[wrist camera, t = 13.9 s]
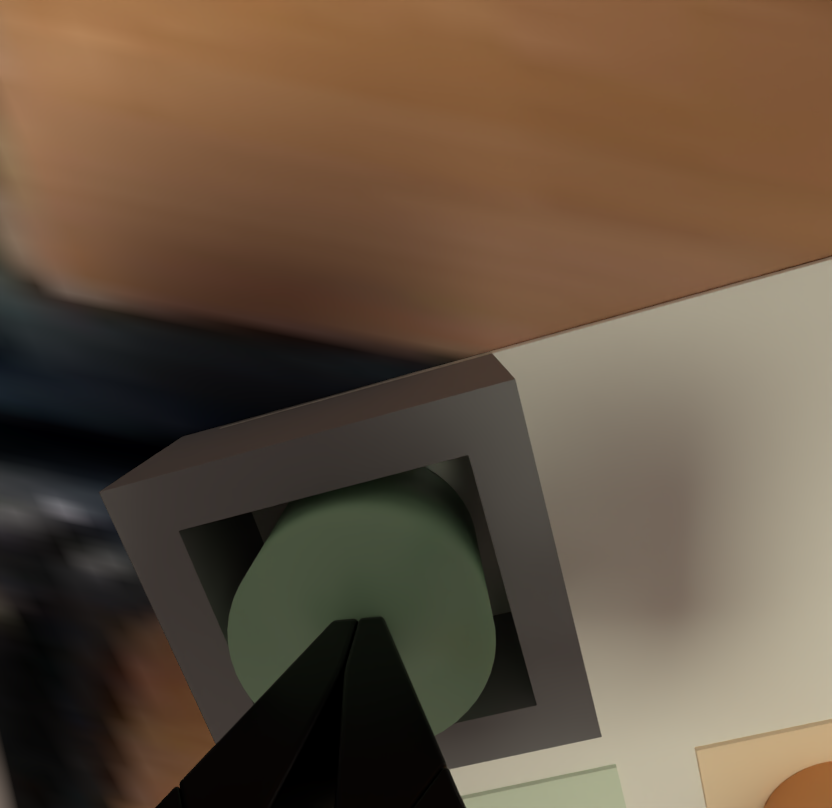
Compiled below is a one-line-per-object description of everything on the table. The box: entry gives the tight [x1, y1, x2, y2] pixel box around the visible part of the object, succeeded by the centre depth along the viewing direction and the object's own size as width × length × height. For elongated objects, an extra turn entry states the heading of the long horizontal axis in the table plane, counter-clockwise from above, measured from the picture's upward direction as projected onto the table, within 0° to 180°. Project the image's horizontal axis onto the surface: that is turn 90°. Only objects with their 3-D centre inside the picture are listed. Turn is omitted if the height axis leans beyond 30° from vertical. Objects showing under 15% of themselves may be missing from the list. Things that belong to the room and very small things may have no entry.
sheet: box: [99, 257, 832, 808], centre depth 11 cm, size 17×16×3 cm
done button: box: [227, 467, 496, 736], centre depth 10 cm, size 4×4×3 cm
